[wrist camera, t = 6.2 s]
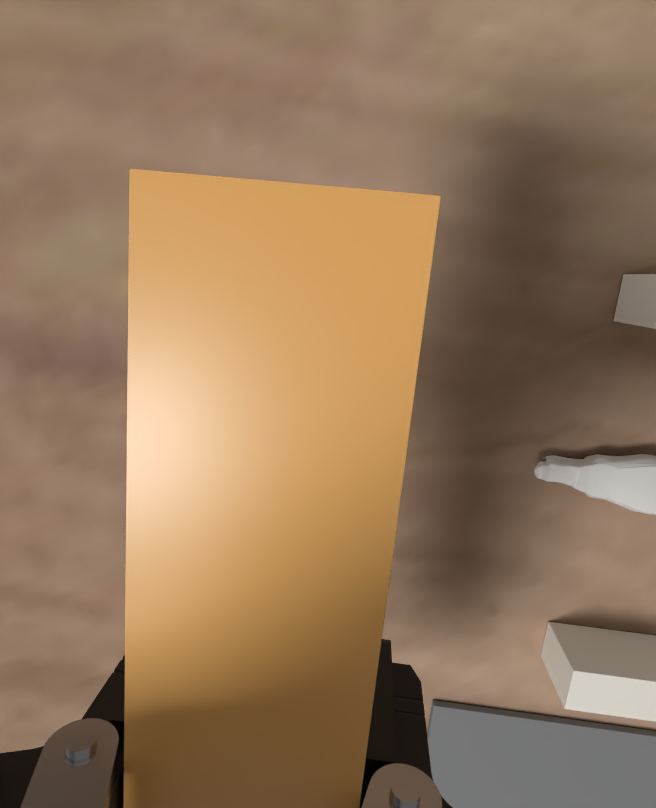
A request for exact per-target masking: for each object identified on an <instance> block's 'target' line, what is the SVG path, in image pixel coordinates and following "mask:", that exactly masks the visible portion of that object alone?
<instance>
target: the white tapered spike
mask: <svg viewBox="0 0 656 808" xmlns="http://www.w3.org/2000/svg"><path fill="white" fill-rule="evenodd" d="M544 458H546V462H542V461H540V462H538V463H537V465H536V467H535V468H534V474H535V476H536V477H537V478H538V479H543V480H545V481H547V482H559V483H563V484H566V485H570V486H572V487H573V488H574V489H577V490H579V491H582V492H584V493H585V494H586V495H587V496H588V497H590V498H602V499H605V500H608V501H610V502H613V503H615V504H618V505H620V506H622V507H624V508H627V509H629V510H631V511H633V512H642V513H646V514H651V515H656V455H648V454H636V455H620V456H608V455H600V454H595V455H591V456H587V457H585V458H584V459H573V458H565V457H560V456H556V455H550V456H546V457H544ZM542 459H543V458H542Z"/></svg>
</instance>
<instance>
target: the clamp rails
mask: <svg viewBox="0 0 656 808" xmlns="http://www.w3.org/2000/svg"><path fill="white" fill-rule="evenodd" d="M613 321H614V322H620V323H625V324H631V325H636V326H642V327H647V328H653V329H656V274H623V279H622V283H621V288H620V292H619V297H618V302H617V306H616V311H615V316H614V320H613ZM541 657H542V660H543V662H544V664H545V666H546V669H547V671H548V673H549V675H550V677H551V680H552V682H553V684H554V686H555V689H556V691H557V693H558V695H559V698H560V700H561V702H562V704H563V707H564V709H569V710H576V711H583V712H590V713H598V714H605V715H612V716H620V717H627V718H634V719H641V720H649V721H656V636H655V635H648V634H640V633H632V632H624V631H617V630H609V629H601V628H593V627H586V626H578V625H570V624H563V623H555V622H548V625H547V630H546V635H545V639H544V644H543V648H542V653H541Z"/></svg>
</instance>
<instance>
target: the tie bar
mask: <svg viewBox="0 0 656 808" xmlns="http://www.w3.org/2000/svg"><path fill="white" fill-rule="evenodd" d="M440 197H441V196H437V195H425V194H414V193H402V192H391V191H379V190H368V189H356V188H345V187H333V186H322V185H310V184H299V183H287V182H276V181H264V180H253V179H241V178H230V177H218V176H207V175H195V174H184V173H172V172H161V171H149V170H137V169H130V185H129V289H128V393H127V496H126V600H125V704H124V807H123V808H359V805H360V798H361V790H362V783H363V775H364V768H365V760H366V753H367V745H368V738H369V730H370V723H371V715H372V708H373V700H374V693H375V685H376V678H377V670H378V663H379V655H380V648H381V640H382V633H383V625H384V617H385V610H386V602H387V595H388V587H389V580H390V572H391V565H392V557H393V550H394V542H395V535H396V527H397V520H398V512H399V505H400V497H401V490H402V482H403V475H404V467H405V460H406V452H407V445H408V437H409V430H410V422H411V415H412V407H413V400H414V392H415V385H416V377H417V370H418V362H419V355H420V347H421V340H422V332H423V325H424V317H425V310H426V302H427V295H428V287H429V280H430V272H431V265H432V257H433V250H434V242H435V235H436V227H437V220H438V212H439V205H440Z"/></svg>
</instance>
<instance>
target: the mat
mask: <svg viewBox="0 0 656 808" xmlns="http://www.w3.org/2000/svg"><path fill="white" fill-rule="evenodd" d="M427 739H428V747H429V756H430V764H431V773H432V778H433V781H434V783H435V785H436V786H437V788H438V790H439V792H440V794H441V796H442V797H443V798H444V800H445V801H446V802H447V803H448V804H449V805H450V806H452V807H453V808H656V731H653V730H645V729H638V728H631V727H624V726H616V725H609V724H602V723H595V722H588V721H580V720H573V719H566V718H559V717H552V716H544V715H537V714H530V713H523V712H516V711H508V710H501V709H494V708H487V707H480V706H472V705H465V704H458V703H451V702H443V701H436V700H433V702H432V708H431V714H430V720H429V727H428V733H427Z"/></svg>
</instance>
